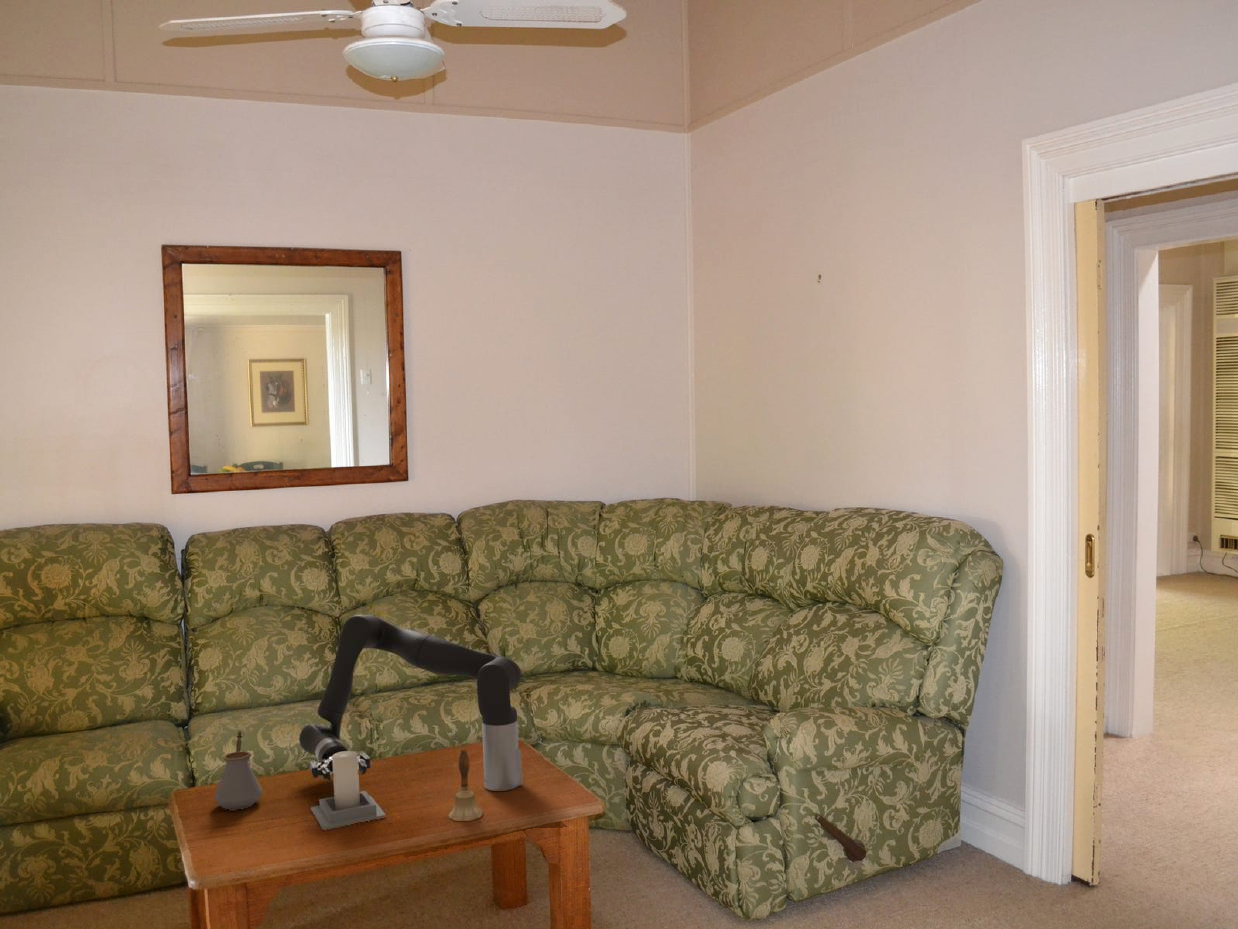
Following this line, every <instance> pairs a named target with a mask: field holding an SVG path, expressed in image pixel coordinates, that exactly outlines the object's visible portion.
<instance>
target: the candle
mask: <svg viewBox="0 0 1238 929" xmlns="http://www.w3.org/2000/svg"><path fill="white" fill-rule="evenodd" d="M332 761H333V774H332V777H333V778H332V780H333V795H334V796H333V797H334V800H335V811H338V810H343V809H348V808H354V807H359V806H360V796H359V792H360V782H359V781H360V780H359V779H360V778H359V770H358V766H359V763H358V752H357V751H356V750H355V751H353V750H349V751H342V752H338V753H335V754H334V755H333V756H332Z"/></svg>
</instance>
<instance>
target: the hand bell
mask: <svg viewBox="0 0 1238 929" xmlns="http://www.w3.org/2000/svg"><path fill="white" fill-rule="evenodd" d="M458 758H459V759H458V769H459V774H460V778H461V781H460V784H461V785H460V787H461V788H460V790H459V792H457V793H456V794H455V801H454V805H453V809H452V810H451V811H450V812H449V813H448V818H449V819H450V820H451V821H453V822H469V821H475V820H478V819H479V818H481V817H482V816H484V811H483V810H482V809H481V808H480V807H479V806H478V804H477V801H476V797H475V793H474V791H472V790H470V789H469V779H468V776H469V771H470V758H469V755H468V752H467V750H466V749H462V750H461V751H460V754H459V757H458Z"/></svg>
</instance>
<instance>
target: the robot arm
mask: <svg viewBox="0 0 1238 929" xmlns="http://www.w3.org/2000/svg"><path fill="white" fill-rule="evenodd" d="M364 649H366V650H367V649H372V650H373V649H374V650H380V651H384V652H387V653H388V652H389V653H390V654H391V653H392V654H394V655H397V656H398V657H399V658H401V659H402V660H404V661H405V662H406V663H408V664H410V665H412V666H413V667H415V668H418V669H421V670H424V671H427V672H430V673H433V674H437V675H443V676H445V675H447V676H459V677H460V676H461V677H462V676H463V677H470V678H472V679H476V692H477V706H478V711H479V713H480V716H481V728H482V729H481V730H482V734H481V735H482V757H483V763H482V764H483V787H484V788H485V789H486V790H488V791H494V792H503V791H504V792H505V791H510V790H514V789H516V788H517V787H520V786H522V785H523V768H522V767H523V766H522V750H521V748H519V734H518V733H519V730H518V711H517V709H516V708H515V707H514V706H512V705H511V695H510V694H511V693H510V692H511V691H513V690H514V689H515V688H516V687H518V685H519V684H520V683H521V680H522V671H521V668H520V667H519V665H518V663H516V662H515V661H514V660H513V659H511V658H509V657H505V656H501V655H496V654H493V653H492V654H491V653H486V652H481V651H477V650H474V649H472V648H469V647H466V646H463V645H461V644H458V643H455V642H452V641H449V640H446V639H444V638H441V637H438V636H435V635H431V634H428V633H424V632H421V631H420V632H419V631H416V630H412V629H407V628H403V627H400V626H398V625H396V624H393V623H391V622H389V621H386V620H385V619H382V618H381V617H378V616H376V615H372V614H355V615H352V616H350V617H348V619H346V621H345V622H344V624H343V625H342V629H341V632H340V636H339V641H338V645H337V649H336V653H335V654H336V655H335V658H334V662H333V666H332V669H331V670H332V671H331V673H330V676H329V679H328V682H327V685H326V687H325V690H324V692H323V694H322V695H323V696H322V697H321V700H320V703H319V706H318V708H317V711H316V712H317V715H318V717H320V718H321V719H323V720H324V721H327V722H329V723H330V725H329V726H324V725H320V724H316V723H309V724H306V725H305V726H304V727H303V728H302V729H301V731H300V733H299V744H300V747H301V748H302V749H303V751H305V752H307V753H308V754H311V755H313V756H314V757H316V760H317V761H315V760H311V761H310V762H309V764H310V765H309V766H310V767H309V768H310V773H311V775H312V778H313V779H316V778H318V777H319V776H320V778H323V779H324V780H326V781H327V782H328V781H331V775H333V761H332V756H333V755H334V754H335V753H338V752H342V751H350V750H349V749H348V748H347V747H346V746H345V745H344V743H343V742H342V741H341V740H340V738H341V728H342V721H343V717H344V714H345V712H346V710H347V706H348V705H349V701H350V698H351V696H352V691H353V686H354V672H355V668H356V664H357V662H358V658H359V656H360V655H361V653H362V651H363V650H364ZM357 756H358V755H357ZM371 768H372V767H371V756H368V754H367V753H365V752H360V753H359V756H358V772H360V774H361V775H365V774H366V772H368V769H371Z"/></svg>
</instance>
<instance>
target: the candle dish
mask: <svg viewBox="0 0 1238 929" xmlns="http://www.w3.org/2000/svg"><path fill="white" fill-rule="evenodd" d="M359 796H360V806H359V807H354V808H348V809H343V810H338V811H335V800H334V796H331V797H325V798H319V799H318V801H319V805H315V806H314V805H313V806H311V807H310V810H311V812H313V813H312V815H313V816H314V815H315V816H314V818H315V819H316V821H317V822H319V823H318V824H319V825H320V827H321V829H322V831H327V829H328V830H333V829H337V828H342V826H343V827H346V826H345V825H348V826H352V825H351V824H353V823H357V822H361V821H368V822H371V821H370V820H373V819H377V818H383V819H386V818H387V816H386V813H385V812H384V810H382V808H381V806H380V805H379V804H378V802H376V800H375V799H374V798H373V797H372V796H371V795H369V794H368V792H367V791H366V790H362V791H359ZM385 817H386V818H385ZM373 821H374V820H373ZM353 825H354V824H353ZM332 828H333V829H332Z"/></svg>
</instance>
